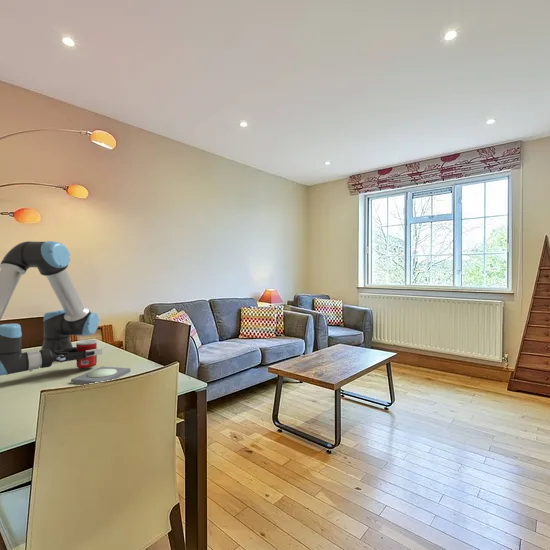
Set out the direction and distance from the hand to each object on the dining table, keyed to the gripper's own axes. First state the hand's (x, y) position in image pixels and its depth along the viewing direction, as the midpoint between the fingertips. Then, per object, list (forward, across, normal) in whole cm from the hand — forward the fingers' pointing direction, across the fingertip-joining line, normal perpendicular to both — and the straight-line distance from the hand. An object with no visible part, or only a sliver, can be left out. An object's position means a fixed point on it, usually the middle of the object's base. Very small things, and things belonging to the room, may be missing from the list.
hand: (98, 349), depth 157 cm
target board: (-5, +18, -8) cm, 20 cm away
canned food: (-5, 0, -7) cm, 8 cm away
